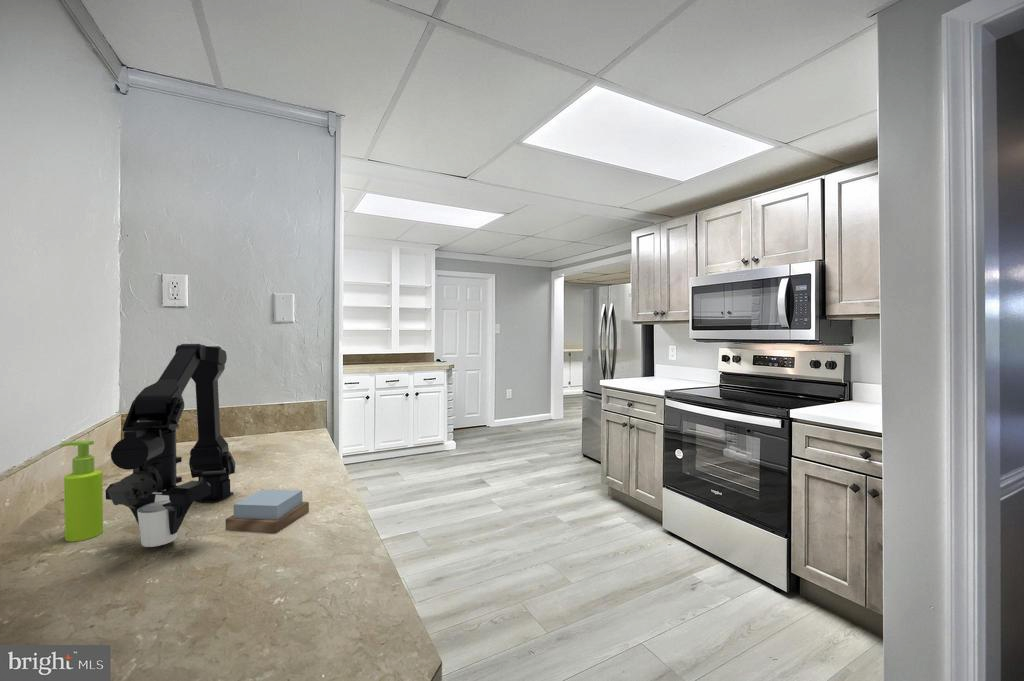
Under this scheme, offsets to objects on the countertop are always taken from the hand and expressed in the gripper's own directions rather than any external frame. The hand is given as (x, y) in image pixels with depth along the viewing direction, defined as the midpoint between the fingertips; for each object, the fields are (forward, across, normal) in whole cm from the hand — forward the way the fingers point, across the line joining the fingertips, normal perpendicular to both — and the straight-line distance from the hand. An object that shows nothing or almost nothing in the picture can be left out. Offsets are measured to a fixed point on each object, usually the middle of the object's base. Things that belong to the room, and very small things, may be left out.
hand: (159, 532), depth 91 cm
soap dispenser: (+3, -21, +2) cm, 21 cm away
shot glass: (+2, 0, 0) cm, 2 cm away
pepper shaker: (+3, -13, +13) cm, 19 cm away
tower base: (+4, +13, +15) cm, 20 cm away
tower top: (0, +13, +15) cm, 20 cm away
